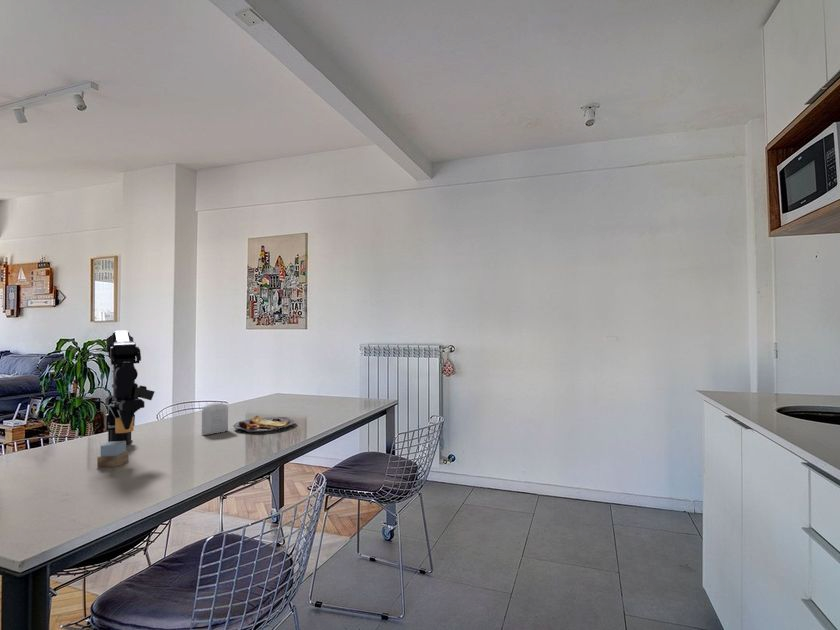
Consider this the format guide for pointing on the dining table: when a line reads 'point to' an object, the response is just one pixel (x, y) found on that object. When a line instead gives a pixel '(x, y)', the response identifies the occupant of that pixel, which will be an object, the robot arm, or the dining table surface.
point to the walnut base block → (112, 460)
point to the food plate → (264, 424)
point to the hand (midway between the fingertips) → (124, 428)
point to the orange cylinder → (120, 428)
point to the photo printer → (214, 418)
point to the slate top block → (113, 448)
